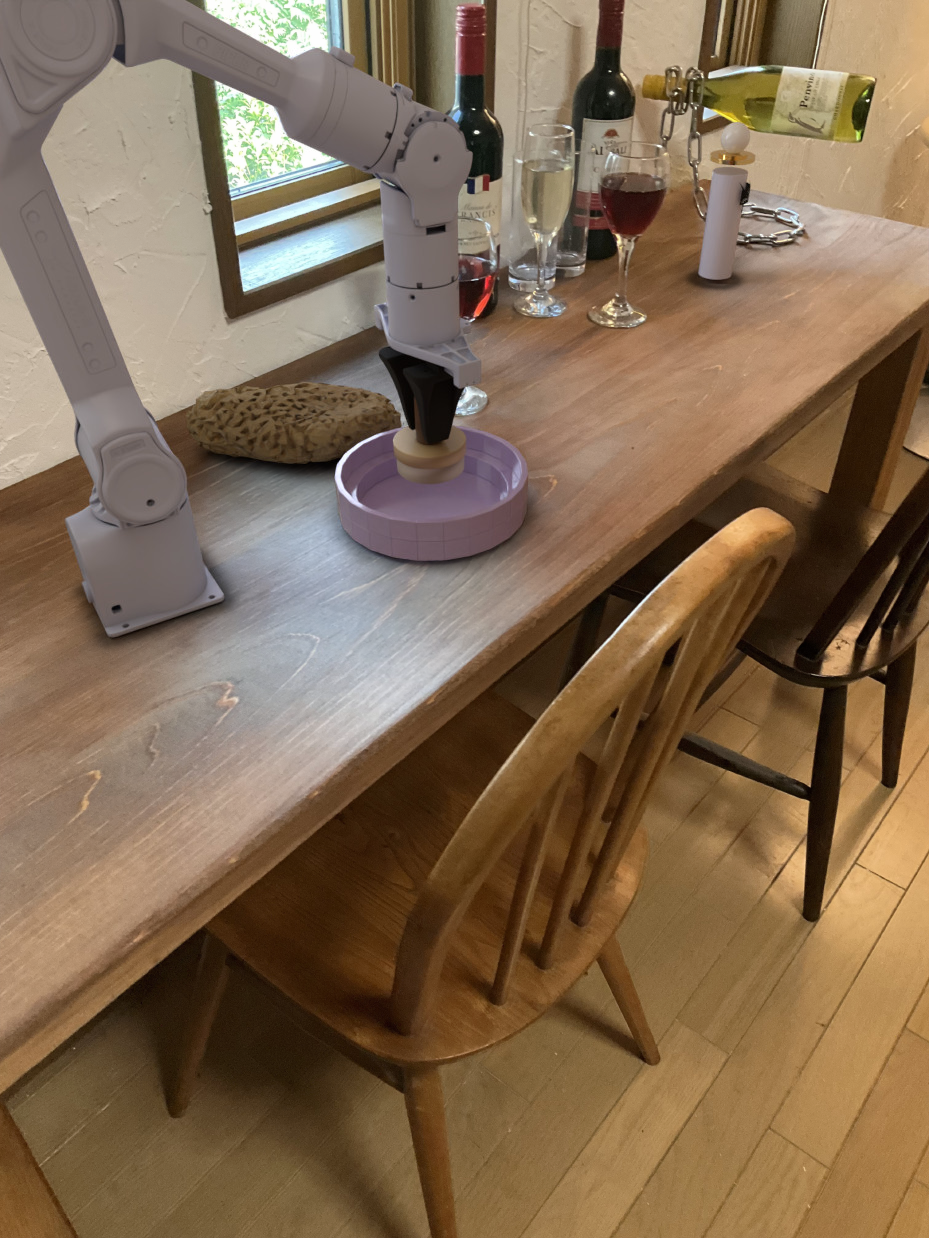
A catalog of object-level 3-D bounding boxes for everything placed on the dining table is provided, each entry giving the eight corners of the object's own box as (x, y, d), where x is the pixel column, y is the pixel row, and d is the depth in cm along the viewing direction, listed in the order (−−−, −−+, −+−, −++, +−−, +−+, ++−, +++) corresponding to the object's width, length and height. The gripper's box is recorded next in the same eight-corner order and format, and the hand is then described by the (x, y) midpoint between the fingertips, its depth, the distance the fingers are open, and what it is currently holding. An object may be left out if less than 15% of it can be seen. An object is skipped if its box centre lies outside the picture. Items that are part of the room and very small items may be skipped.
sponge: (188, 476, 97) (354, 478, 88) (168, 398, 94) (339, 393, 85) (266, 441, 107) (421, 440, 98) (251, 370, 104) (410, 362, 95)
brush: (416, 493, 82) (412, 421, 78) (382, 461, 86) (377, 391, 82) (480, 472, 85) (479, 402, 80) (444, 443, 89) (442, 374, 85)
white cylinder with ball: (690, 284, 133) (712, 126, 121) (695, 270, 138) (717, 116, 125) (733, 288, 132) (759, 128, 119) (736, 274, 136) (762, 118, 124)
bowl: (393, 589, 80) (389, 544, 77) (310, 496, 91) (304, 454, 88) (563, 528, 86) (565, 485, 83) (465, 449, 98) (465, 409, 95)
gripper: (515, 294, 71) (512, 456, 80) (422, 242, 81) (428, 390, 90) (433, 314, 69) (439, 479, 77) (347, 257, 79) (360, 409, 87)
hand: (428, 433), depth 83 cm, fingers closed on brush, 2 cm apart
